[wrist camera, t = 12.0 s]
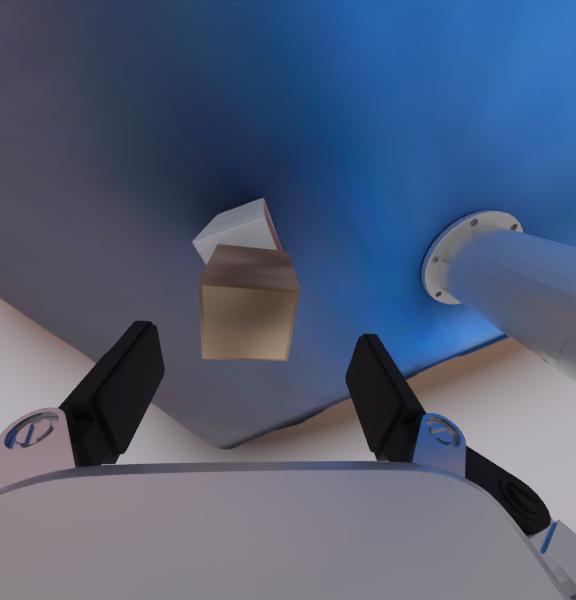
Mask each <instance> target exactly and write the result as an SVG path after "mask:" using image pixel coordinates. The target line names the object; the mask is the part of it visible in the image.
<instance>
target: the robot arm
mask: <svg viewBox="0 0 576 600" xmlns="http://www.w3.org/2000/svg"><path fill="white" fill-rule="evenodd" d="M421 278H422V284H423V287H424V289H425V290H426V292H427V293H428V294H429V295H430V296H431V297H432V298H434V299H435V300H437V301H439V302H441V303H445V304H463V305H465V306H466V307H468V308H469V309H471V310H472V311H473V312H475V313H476V314H478V315H479V316H481V317H482V318H484V319H485V320H486V321H488V322H489V323H491V324H492V325H494V326H495V327H496V328H498V329H499V330H501V331H502V332H504V333H505V334H507V335H508V336H509V337H511V338H512V339H514V340H515V341H517V342H518V343H520V344H521V345H523V346H524V347H525V348H527V349H528V350H530V351H531V352H532V353H534V354H535V355H537V356H538V357H540V358H541V359H543V360H544V361H546V362H547V363H548V364H550V365H551V366H553V367H554V368H556V369H557V370H559V371H560V372H561V373H563V374H565V375H566V376H567V377H569V378H570V379H572V380H573V381H575V382H576V247H574V246H570V245H567V244H563V243H559V242H555V241H551V240H548V239H544V238H540V237H536V236H533V235H529V234H525V233H523V229H522V227H521V224H520V222H519V221H518V220H517V219H516V218H515V217H514V216H512V215H510V214H508V213H505V212H501V211H495V210H485V211H479V212H475V213H472V214H469V215H467V216H465V217H463V218H461V219H459V220H458V221H456V222H455V223H453V224H451V225H450V226H449V227H448V228H447V229H446V230H444V231H443V232H442V233H441V234H440V235H439V237H438V238H437V239H436V240H435V241H434V243H433V244H432V246H431V247H430V249H429V250H428V252H427V254H426V257H425V259H424V262H423V265H422V272H421ZM164 372H165V369H164V363H163V358H162V353H161V347H160V342H159V337H158V331H157V327H156V325H153V324H152V322H150V321H135V322H134V323H133V324H132V325H131V326H130V327H129V329H128V330H127V331H126V332H125V333H124V334H123V336H122V337H121V338H120V339H119V340H118V341H117V342H116V344H115V345H114V346H113V347H112V348H111V349H110V351H108V352H107V353H106V354H104V356H103V357H102V358H101V359H100V360H99V361H98V363H97V364H96V365H95V366H94V367H93V368H92V369H91V371H90V372H89V373H88V374H87V375H86V376H85V378H84V379H83V380H82V381H81V382H80V383H79V384H78V386H77V387H76V388H75V389H74V390H73V391H72V393H71V394H70V395H69V396H68V397H67V398H66V399H65V401H64V402H63V403H62V404H61V405H60V406H59V408H44V409H39V410H36V411H34V412H31V413H29V414H27V415H24V416H22V417H21V418H19V419H18V420H16V421H15V422H13V423H12V424H10V425H9V426H8V427H7V428H6V429H5V430H4V431H3V432H2V434H1V435H0V600H576V534H575V533H574V532H573V531H572V530H571V529H569V528H568V527H567V526H566V525H565V524H564V523H562V522H561V521H560V520H558V521H556V522H555V521H554V520H553V519H552V518H551V517H550V514H549V511H548V509H547V508H546V506H545V504H544V502H543V501H542V500H541V499H540V497H539V496H538V495H537V494H536V493H535V492H534V491H533V490H532V489H531V488H530V487H529V486H527V485H526V484H525V483H524V482H522V481H521V480H519V479H518V478H516V477H515V476H513V475H512V474H510V473H508V472H507V471H505V470H504V469H502V468H500V467H499V466H497V465H496V464H494V463H493V462H491V461H490V460H488V459H486V458H485V457H483V456H481V455H480V454H479V453H477V452H475V451H474V450H472V449H471V448H469V447H467V446H466V442H465V438H464V436H463V434H462V432H461V431H460V430H459V428H458V427H457V426H456V425H455V424H453V423H452V422H451V421H450V420H448V419H447V418H445V417H443V416H441V415H438V414H435V413H428V414H426V412H425V411H424V409H423V407H422V405H421V404H420V402H419V401H418V399H417V397H416V396H415V394H414V393H413V391H412V390H411V388H410V387H409V385H408V383H407V382H406V380H405V379H404V377H403V375H402V374H401V372H400V371H399V369H398V367H397V366H396V364H395V363H394V361H393V360H392V358H391V356H390V355H389V353H388V352H387V350H386V348H385V347H384V345H383V344H382V342H381V341H380V339H379V337H378V336H377V335H376V334H363V335H362V336H361V337H359V339H358V341H357V344H356V347H355V350H354V353H353V356H352V359H351V362H350V365H349V367H348V370H347V373H346V384H347V386H348V389H349V392H350V395H351V398H352V401H353V403H354V406H355V409H356V412H357V415H358V418H359V421H360V423H361V426H362V429H363V432H364V435H365V438H366V440H367V443H368V446H369V449H370V451H371V452H374V453H375V456H376V459H377V461H325V462H324V461H319V462H318V461H317V462H315V461H314V462H313V461H312V462H311V461H309V462H225V463H223V462H222V463H165V464H129V465H102V466H101V464H115V463H116V461H117V459H118V457H119V455H120V454H124V453H125V452H126V450H127V448H128V446H129V444H130V442H131V440H132V438H133V436H134V434H135V432H136V430H137V428H138V426H139V424H140V422H141V420H142V418H143V416H144V414H145V412H146V410H147V408H148V406H149V404H150V402H151V400H152V398H153V396H154V394H155V392H156V390H157V388H158V386H159V384H160V382H161V380H162V378H163V376H164ZM382 461H389V462H382Z"/></svg>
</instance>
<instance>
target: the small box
mask: <svg viewBox="0 0 576 600" xmlns="http://www.w3.org/2000/svg"><path fill="white" fill-rule="evenodd" d="M217 244H223V245H233V246H243V247H253V248H262V249H272V250H282V247H281V244H280V242H279V239H278V236H277V233H276V230H275V227H274V225H273V222H272V219H271V216H270V213H269V210H268V207H267V205H266V202H265V199H264V198H261V199H258V200H255V201H252V202H250V203H247V204H244V205H242V206H239V207H236V208H234V209H231V210H228V211H226V212H223V213H221V214H218V215H217V216H216V217H215V218H214V219H213V220H212V221H211V222H210V223H209V224H208V225H207V226H206V227H205V228H204V230H203V231H202V232H201V233H200V234H199V235H198V236H197V237H196V238H195V239H194V240H193V245H194V246H195V248H196V249H197V251H198V253H199V254H200V256H201V258H202V259H203V261H204V263H205V264H206V265H207V263H208V261H209V259H210V258H211V256H212V254H213V252H214V250H215V248H216V246H217ZM282 251H283V250H282ZM297 306H298V305H297Z"/></svg>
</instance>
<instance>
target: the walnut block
mask: <svg viewBox="0 0 576 600" xmlns="http://www.w3.org/2000/svg"><path fill="white" fill-rule="evenodd" d="M198 289H199V307H200V325H201V343H202V359H231V360H268V361H287V360H288V354H289V349H290V343H291V338H292V333H293V327H294V322H295V316H296V311H297V305H298V300H299V295H300V286H299V283H298V280H297V276H296V273H295V270H294V267H293V264H292V261H291V258H290V255H289V252H288V251H282V250H272V249H262V248H253V247H243V246H233V245H223V244H217V246H216V248H215V250H214V252H213V254H212V256H211V258H210V259H209V261H208V263H207V265H206V267H205V269H204V271H203V273H202V275H201V276H200V278H199V280H198Z"/></svg>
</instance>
